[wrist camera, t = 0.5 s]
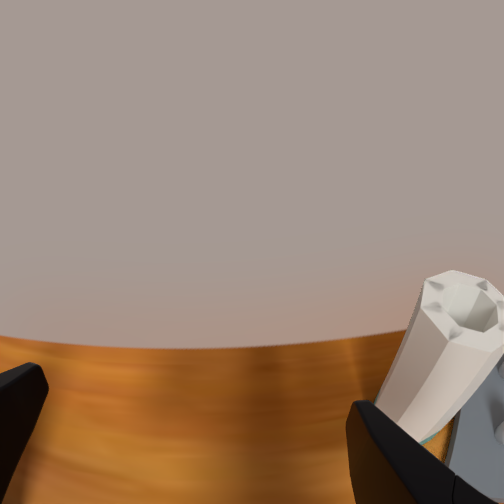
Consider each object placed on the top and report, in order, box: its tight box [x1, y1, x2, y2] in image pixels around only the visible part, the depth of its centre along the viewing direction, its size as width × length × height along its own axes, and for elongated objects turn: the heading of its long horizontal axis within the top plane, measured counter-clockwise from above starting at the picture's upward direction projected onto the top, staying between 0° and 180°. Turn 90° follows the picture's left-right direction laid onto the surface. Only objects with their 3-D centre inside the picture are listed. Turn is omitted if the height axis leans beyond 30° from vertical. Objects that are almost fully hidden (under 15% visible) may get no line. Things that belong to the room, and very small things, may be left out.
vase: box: [374, 270, 504, 445], centre depth 16 cm, size 6×6×13 cm
